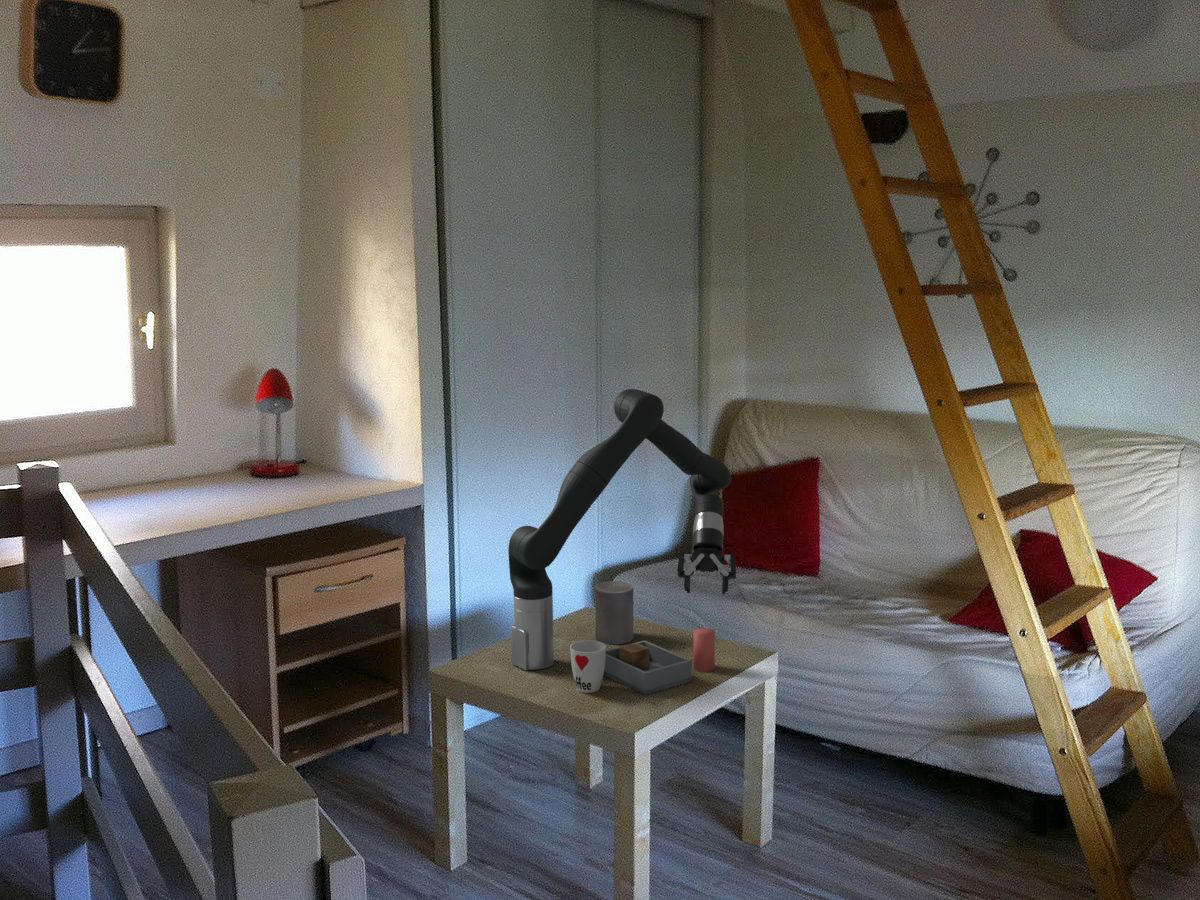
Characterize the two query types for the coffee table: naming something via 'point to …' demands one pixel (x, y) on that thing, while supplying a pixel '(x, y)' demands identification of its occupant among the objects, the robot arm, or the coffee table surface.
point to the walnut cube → (635, 655)
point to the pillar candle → (614, 612)
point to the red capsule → (704, 649)
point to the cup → (588, 664)
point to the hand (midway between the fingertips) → (706, 592)
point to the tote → (649, 670)
